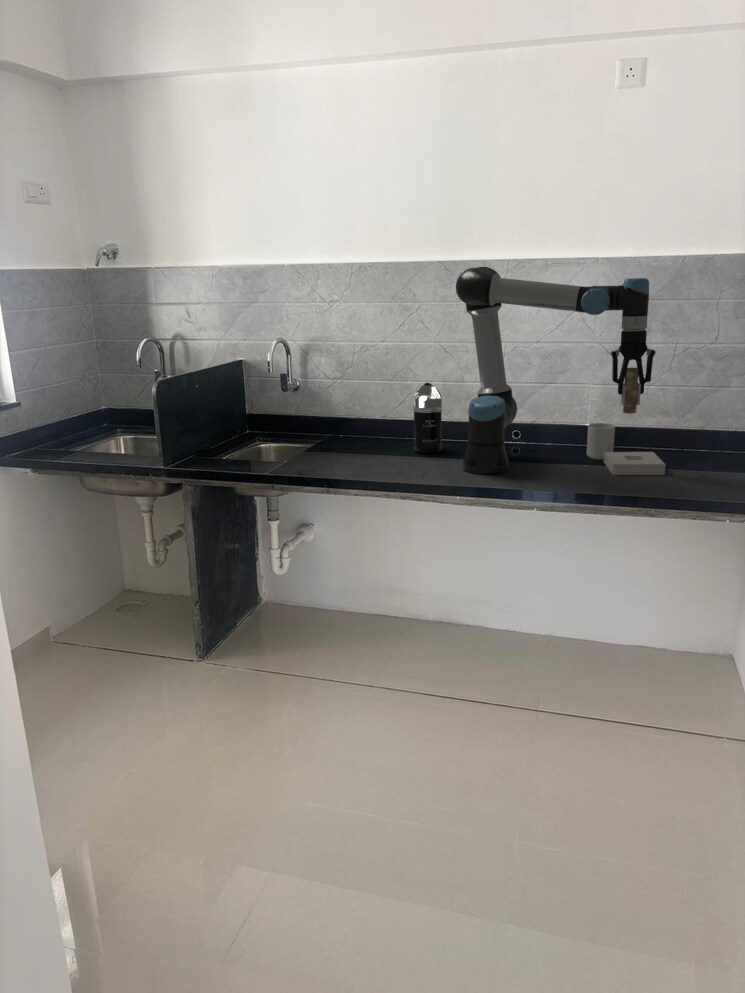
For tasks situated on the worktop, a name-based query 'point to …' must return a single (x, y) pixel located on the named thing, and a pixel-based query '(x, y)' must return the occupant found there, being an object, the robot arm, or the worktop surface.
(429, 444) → the black silver bottle
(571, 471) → the worktop surface
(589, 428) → the mug
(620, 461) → the socket block
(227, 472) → the worktop surface
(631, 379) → the peg
